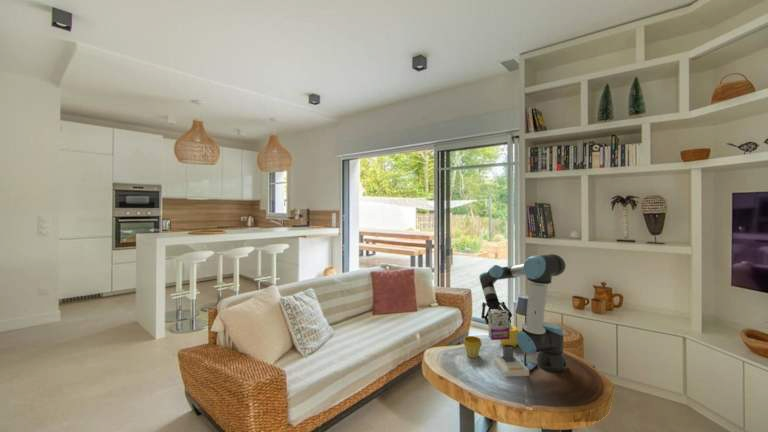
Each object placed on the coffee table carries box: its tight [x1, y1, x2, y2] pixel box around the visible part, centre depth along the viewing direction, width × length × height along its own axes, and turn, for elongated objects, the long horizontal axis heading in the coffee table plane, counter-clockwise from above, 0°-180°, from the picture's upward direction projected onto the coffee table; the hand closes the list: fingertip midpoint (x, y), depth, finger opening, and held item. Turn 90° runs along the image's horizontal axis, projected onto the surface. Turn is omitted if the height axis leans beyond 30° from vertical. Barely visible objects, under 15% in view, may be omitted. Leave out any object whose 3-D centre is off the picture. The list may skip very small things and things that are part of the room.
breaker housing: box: [494, 354, 530, 378], centre depth 181 cm, size 13×15×4 cm
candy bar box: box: [487, 309, 509, 341], centre depth 196 cm, size 11×5×16 cm, turn 95°
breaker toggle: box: [501, 346, 515, 362], centre depth 185 cm, size 6×4×7 cm, turn 92°
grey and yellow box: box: [499, 324, 522, 348], centre depth 213 cm, size 13×20×12 cm
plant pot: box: [463, 335, 482, 359], centre depth 199 cm, size 10×10×10 cm
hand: (500, 328), depth 193 cm, fingers closed on candy bar box, 11 cm apart
